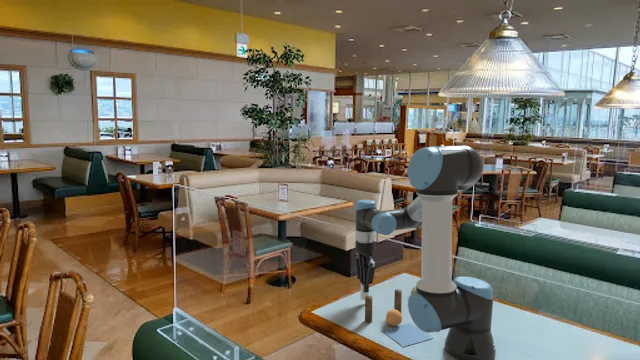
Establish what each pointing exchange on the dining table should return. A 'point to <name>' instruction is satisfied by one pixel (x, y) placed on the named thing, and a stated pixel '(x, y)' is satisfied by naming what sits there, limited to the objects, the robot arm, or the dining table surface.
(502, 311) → the dining table surface
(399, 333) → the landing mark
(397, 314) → the ball
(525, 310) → the dining table surface
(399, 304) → the post right
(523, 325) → the dining table surface
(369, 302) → the post left
